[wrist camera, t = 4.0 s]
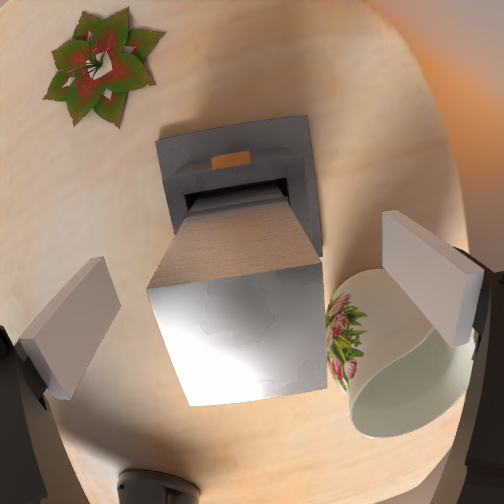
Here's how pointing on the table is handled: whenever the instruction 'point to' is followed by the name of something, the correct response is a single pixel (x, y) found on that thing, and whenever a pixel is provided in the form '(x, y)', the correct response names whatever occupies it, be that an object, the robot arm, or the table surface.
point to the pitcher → (391, 357)
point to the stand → (243, 166)
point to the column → (242, 299)
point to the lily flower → (117, 80)
